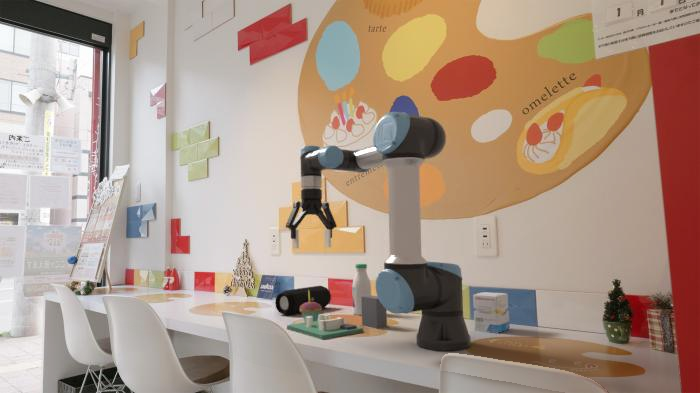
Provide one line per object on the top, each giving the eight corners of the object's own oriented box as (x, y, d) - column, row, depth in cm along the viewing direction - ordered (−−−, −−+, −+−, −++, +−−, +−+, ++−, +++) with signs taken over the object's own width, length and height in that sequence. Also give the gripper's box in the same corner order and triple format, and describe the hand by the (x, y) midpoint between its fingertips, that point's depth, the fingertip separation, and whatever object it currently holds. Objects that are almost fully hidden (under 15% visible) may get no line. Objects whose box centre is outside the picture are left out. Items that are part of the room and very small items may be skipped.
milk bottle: (375, 312, 184) (373, 263, 186) (365, 315, 177) (364, 264, 179) (359, 311, 188) (358, 263, 190) (349, 314, 181) (348, 264, 183)
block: (386, 327, 155) (386, 297, 156) (376, 328, 152) (376, 298, 153) (370, 323, 162) (369, 295, 163) (360, 325, 159) (359, 296, 160)
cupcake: (318, 323, 164) (318, 289, 165) (296, 322, 166) (295, 289, 167) (324, 319, 172) (324, 287, 173) (303, 318, 174) (302, 287, 175)
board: (363, 331, 147) (362, 318, 148) (322, 339, 138) (322, 325, 138) (325, 322, 165) (325, 311, 165) (287, 328, 155) (286, 316, 155)
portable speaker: (290, 317, 179) (290, 291, 180) (273, 315, 185) (273, 290, 186) (332, 308, 198) (332, 285, 199) (316, 306, 205) (315, 284, 206)
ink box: (510, 329, 147) (508, 293, 148) (498, 333, 140) (497, 295, 141) (485, 326, 152) (484, 291, 153) (473, 330, 146) (472, 294, 147)
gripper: (333, 191, 174) (334, 246, 172) (275, 188, 159) (276, 248, 157) (345, 189, 168) (346, 246, 166) (286, 186, 153) (286, 248, 151)
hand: (312, 247), depth 161 cm, fingers open, 13 cm apart
